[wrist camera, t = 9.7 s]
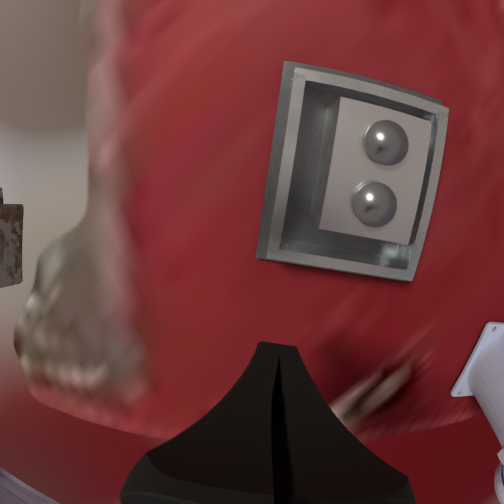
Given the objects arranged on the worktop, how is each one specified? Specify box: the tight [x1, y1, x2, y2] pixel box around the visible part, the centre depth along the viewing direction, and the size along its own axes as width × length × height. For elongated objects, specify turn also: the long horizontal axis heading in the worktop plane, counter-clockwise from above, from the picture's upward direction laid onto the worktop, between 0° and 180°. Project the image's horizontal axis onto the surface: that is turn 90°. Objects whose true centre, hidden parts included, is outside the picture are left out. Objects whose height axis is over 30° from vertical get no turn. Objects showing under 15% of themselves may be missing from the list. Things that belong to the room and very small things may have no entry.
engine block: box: [311, 97, 432, 245], centre depth 15 cm, size 4×6×5 cm
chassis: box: [255, 61, 449, 281], centre depth 17 cm, size 10×12×3 cm
